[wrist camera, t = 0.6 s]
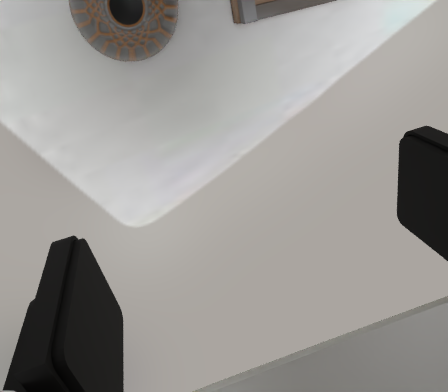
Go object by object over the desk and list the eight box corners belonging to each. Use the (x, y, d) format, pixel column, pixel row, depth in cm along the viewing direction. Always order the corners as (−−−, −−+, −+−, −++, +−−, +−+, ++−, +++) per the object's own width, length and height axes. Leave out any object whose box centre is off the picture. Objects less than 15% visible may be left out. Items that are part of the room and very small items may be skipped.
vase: (164, -53, 26) (181, -75, 19) (176, 49, 30) (195, 66, 22) (63, -48, 25) (38, -69, 18) (88, 58, 28) (76, 79, 21)
